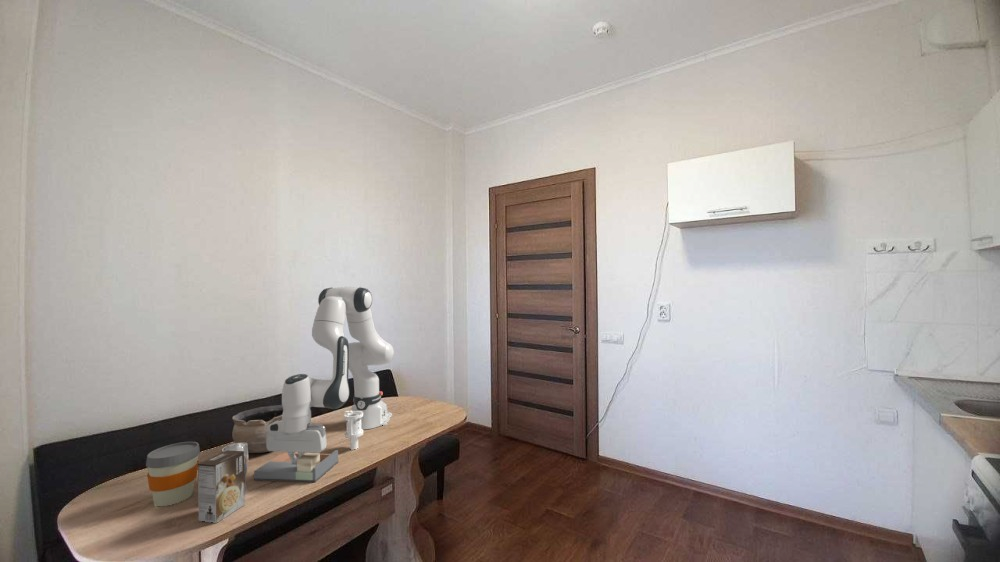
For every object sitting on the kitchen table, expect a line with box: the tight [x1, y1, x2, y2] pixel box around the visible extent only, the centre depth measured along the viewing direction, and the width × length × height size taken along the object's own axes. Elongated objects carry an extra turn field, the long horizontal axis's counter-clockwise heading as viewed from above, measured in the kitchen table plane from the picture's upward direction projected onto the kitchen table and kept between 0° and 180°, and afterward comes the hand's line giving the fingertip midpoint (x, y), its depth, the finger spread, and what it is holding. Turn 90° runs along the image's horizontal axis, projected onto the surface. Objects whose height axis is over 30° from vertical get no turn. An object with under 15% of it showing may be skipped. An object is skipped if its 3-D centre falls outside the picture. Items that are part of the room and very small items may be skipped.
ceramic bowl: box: [231, 404, 283, 454], centre depth 150 cm, size 22×22×15 cm
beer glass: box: [221, 442, 249, 495], centre depth 115 cm, size 7×7×15 cm
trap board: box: [253, 449, 339, 483], centre depth 130 cm, size 14×22×4 cm, turn 84°
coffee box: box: [197, 450, 246, 524], centre depth 106 cm, size 9×6×16 cm
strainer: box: [343, 410, 364, 451], centre depth 148 cm, size 7×7×15 cm
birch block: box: [297, 452, 321, 472], centre depth 126 cm, size 5×5×4 cm
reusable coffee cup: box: [145, 441, 201, 507], centre depth 114 cm, size 12×13×15 cm
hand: (296, 463), depth 126 cm, fingers closed
